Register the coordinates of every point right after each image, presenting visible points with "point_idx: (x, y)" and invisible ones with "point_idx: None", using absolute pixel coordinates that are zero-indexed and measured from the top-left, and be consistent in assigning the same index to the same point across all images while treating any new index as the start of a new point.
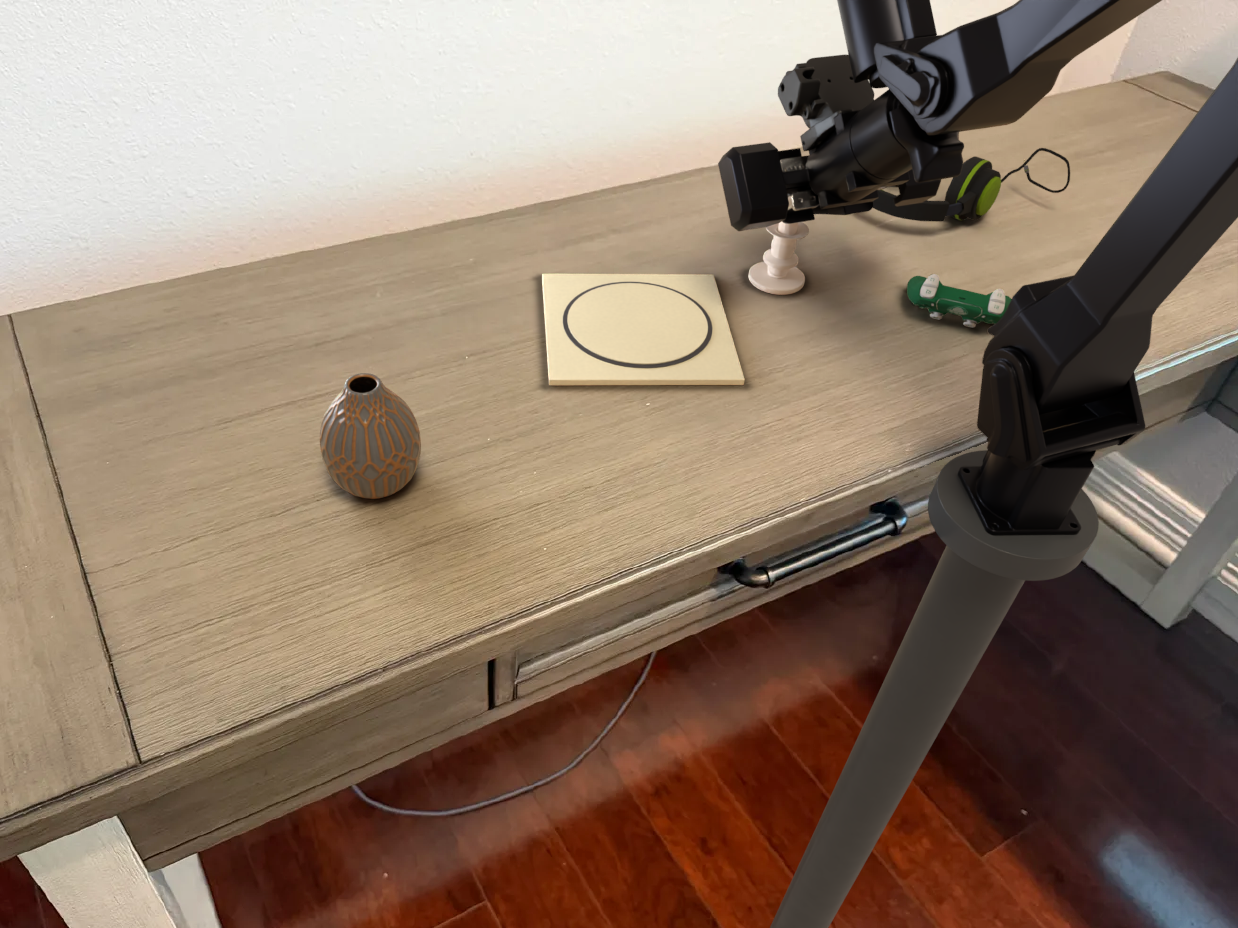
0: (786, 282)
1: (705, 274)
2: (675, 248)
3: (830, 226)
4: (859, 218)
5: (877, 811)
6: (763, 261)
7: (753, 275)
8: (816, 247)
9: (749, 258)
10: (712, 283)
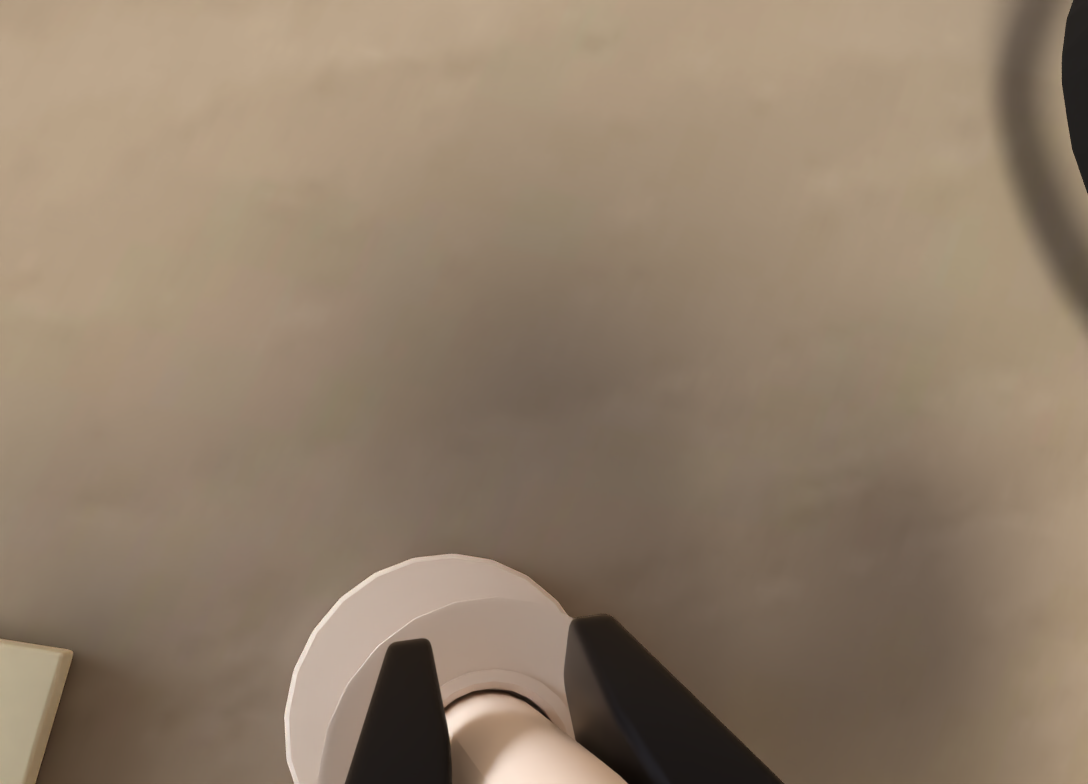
0: None
1: (8, 648)
2: (7, 280)
3: (895, 269)
4: (1039, 237)
5: None
6: (428, 560)
7: (306, 703)
8: (768, 433)
9: (390, 465)
10: (2, 762)
